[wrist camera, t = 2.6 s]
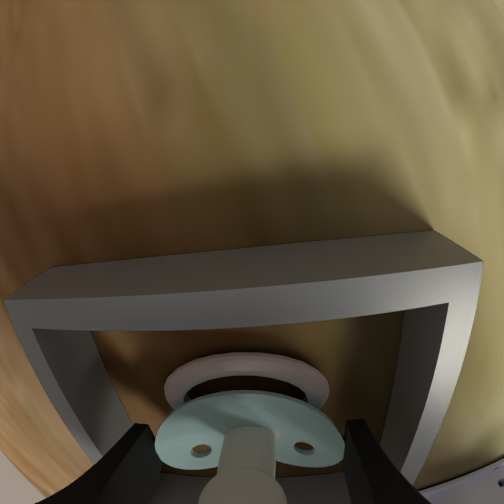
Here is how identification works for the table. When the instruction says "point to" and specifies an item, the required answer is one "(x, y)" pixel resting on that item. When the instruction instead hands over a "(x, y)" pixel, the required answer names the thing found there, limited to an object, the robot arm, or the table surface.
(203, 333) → the table surface
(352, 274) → the gray square frame
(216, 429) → the pacifier
